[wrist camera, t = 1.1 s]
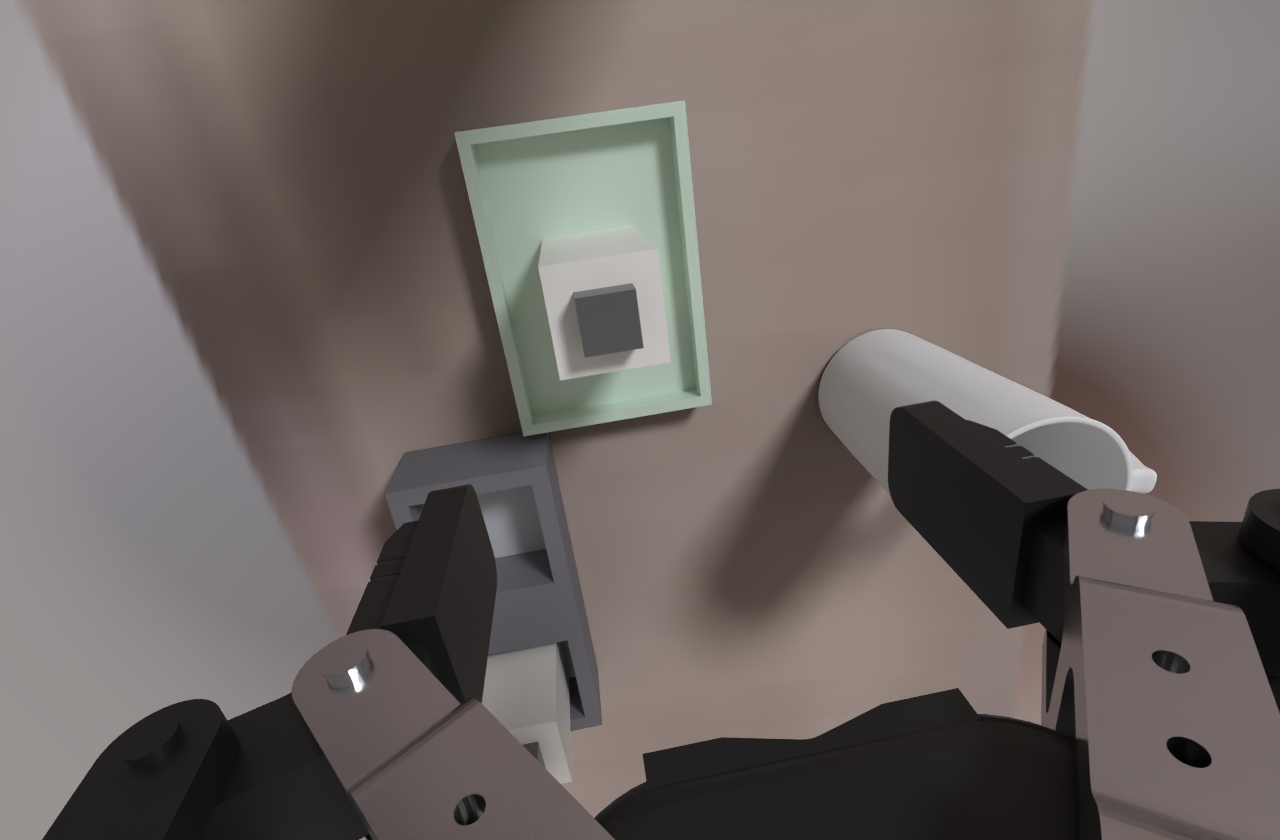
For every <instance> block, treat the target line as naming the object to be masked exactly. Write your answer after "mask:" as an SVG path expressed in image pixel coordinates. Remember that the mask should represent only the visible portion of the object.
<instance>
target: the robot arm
mask: <svg viewBox="0 0 1280 840" xmlns="http://www.w3.org/2000/svg"><path fill="white" fill-rule="evenodd" d="M888 487H889V491H890V495H891V498H892V500H893V503H894V505H895V506H896V508H897V509H898V511H899V512H900V513H901V514H902V515H903V516H904V517H905V518H906V519H907V520H908V522H909V523H910V524H911V525H912V526H913V527H914V528H915V529H916V530H917V531H918V532H919V533H920V535H921V536H922V537H923V538H924V539H925V540H926V541H927V542H928V543H929V544H930V545H931V546H932V547H933V549H934V550H935V551H936V552H937V553H938V554H939V555H940V556H941V557H942V558H943V559H944V560H945V561H946V563H947V564H948V565H949V566H950V567H951V568H952V569H953V570H954V571H955V572H956V573H957V574H958V576H959V577H960V578H961V579H962V580H963V581H964V582H965V583H966V584H967V585H968V586H969V587H970V588H971V590H972V591H973V592H974V593H975V594H976V595H977V596H978V597H979V598H980V599H981V600H982V601H983V603H984V604H985V605H986V606H987V607H988V608H989V609H990V610H991V611H992V612H993V613H994V614H995V615H996V617H997V618H998V619H999V620H1000V621H1001V622H1002V623H1003V624H1004V625H1005V626H1006V627H1007V628H1008V629H1009V628H1014V627H1018V626H1023V625H1028V624H1033V623H1037V622H1040V623H1041V624H1042V625H1043V626H1044V627H1045V628H1046V629H1045V635H1044V641H1043V646H1042V705H1041V706H1042V707H1041V725H1038V724H1034V723H1031V722H1027V721H1023V720H1019V719H1014V718H1010V717H1003V716H996V715H988V714H977V713H976V712H975V710H974V709H973V708H972V706H971V705H970V704H969V702H968V701H967V699H966V698H965V697H964V695H963V694H962V693H961V691H960V690H959V689H958V688H956V689H952V690H947V691H942V692H937V693H932V694H928V695H923V696H918V697H913V698H909V699H904V700H899V701H894V702H889V703H885V704H881V705H879V706H877V707H875V708H873V709H871V710H869V711H867V712H865V713H863V714H861V715H859V716H857V717H855V718H853V719H852V720H850V721H848V722H846V723H844V724H842V725H840V726H838V727H836V728H834V729H832V730H830V731H828V732H826V733H824V734H822V735H820V736H817V737H815V738H812V739H805V740H795V739H758V738H717V739H712V740H708V741H703V742H698V743H693V744H689V745H684V746H679V747H674V748H669V749H665V750H660V751H655V752H650V753H645V754H643V759H644V766H645V773H646V780H647V781H646V782H644V783H642V784H640V785H638V786H636V787H634V788H633V789H631V790H629V791H628V792H626V793H625V794H623V795H622V796H620V797H619V798H617V799H616V800H614V801H613V802H612V803H611V804H610V805H608V806H607V807H606V808H605V809H604V810H602V811H601V812H600V813H599V814H598V815H597V816H596V817H595V818H593V817H592V816H591V815H590V814H589V813H588V811H587V810H586V809H585V808H584V807H583V806H582V805H581V804H580V803H579V802H578V801H577V800H576V799H575V798H574V797H573V796H572V795H571V794H570V793H569V792H568V791H567V790H566V789H565V788H564V787H563V786H562V785H561V784H560V783H559V782H558V781H557V780H556V779H555V778H554V777H553V776H552V775H551V774H550V773H549V772H548V771H547V770H546V769H545V768H544V767H543V766H542V765H541V763H540V762H539V761H538V760H537V759H536V758H535V757H534V756H533V755H532V754H531V753H530V752H529V751H528V750H527V749H526V748H525V747H524V746H523V745H522V744H521V743H520V742H519V741H518V740H517V739H516V738H515V737H514V736H513V735H512V734H511V733H510V732H509V731H508V730H507V729H506V728H505V727H504V726H503V725H502V724H501V723H500V722H499V721H498V720H497V719H496V718H495V717H494V715H493V714H492V713H491V712H490V711H489V710H488V709H487V708H486V707H485V706H484V705H483V704H482V698H483V690H484V682H485V675H486V667H487V659H488V652H489V644H490V636H491V629H492V621H493V613H494V606H495V598H496V591H497V569H496V562H495V557H494V552H493V549H492V545H491V542H490V539H489V535H488V532H487V528H486V525H485V522H484V518H483V515H482V511H481V508H480V504H479V501H478V498H477V494H476V492H475V490H474V488H473V486H472V485H471V484H468V485H462V486H457V487H451V488H446V489H441V490H435V491H430V492H429V493H428V496H427V498H426V501H425V504H424V507H423V510H422V512H421V515H420V518H419V520H418V521H413V522H407V523H404V524H403V525H402V526H401V527H400V528H399V529H398V530H397V531H396V532H395V533H394V534H393V535H392V536H391V537H390V538H389V539H388V540H387V541H386V542H385V544H384V547H383V549H382V551H381V554H380V556H379V558H378V561H377V564H378V565H376V566H375V568H374V570H373V573H372V575H371V577H370V579H371V582H368V584H367V587H366V589H365V591H364V594H363V596H362V599H361V601H360V603H359V606H358V608H357V610H356V613H355V615H354V617H353V620H352V622H351V625H350V627H349V629H348V632H347V634H346V636H344V637H341V638H339V639H337V640H335V641H333V642H332V643H330V644H328V645H327V646H325V647H324V648H323V649H321V650H320V651H318V652H317V653H316V654H314V655H313V656H312V657H311V658H310V659H309V660H308V661H307V662H306V663H305V665H304V666H303V667H302V668H301V669H300V671H299V673H298V674H297V676H296V678H295V680H294V682H293V686H292V693H290V694H288V695H286V696H284V697H282V698H280V699H277V700H275V701H273V702H270V703H268V704H265V705H263V706H261V707H258V708H256V709H254V710H251V711H249V712H247V713H244V714H242V715H240V716H237V717H235V718H233V719H230V720H228V721H227V719H226V718H225V716H224V714H223V713H222V711H221V709H220V708H219V706H218V705H217V704H216V703H214V702H212V701H209V700H204V699H193V700H188V701H183V702H179V703H176V704H173V705H170V706H168V707H165V708H163V709H161V710H159V711H157V712H154V713H152V714H151V715H149V716H147V717H145V718H144V719H142V720H140V721H139V722H137V723H136V724H134V725H133V726H131V727H130V728H129V729H127V730H126V731H125V732H124V733H122V734H121V735H120V736H119V737H118V738H116V739H115V740H114V741H113V742H112V743H111V744H110V745H109V746H108V747H107V748H106V749H105V750H104V752H103V753H102V754H101V755H100V756H99V758H98V759H97V760H96V761H95V763H94V764H93V766H92V767H91V769H90V770H89V771H88V773H87V774H86V776H85V777H84V779H83V780H82V782H81V783H80V785H79V786H78V788H77V789H76V791H75V792H74V794H73V795H72V797H71V798H70V799H69V801H68V802H67V804H66V805H65V807H64V808H63V810H62V811H61V813H60V814H59V816H58V817H57V819H56V820H55V822H54V823H53V825H52V826H51V828H50V829H49V830H48V832H47V834H46V835H45V836H44V838H43V839H42V840H359V839H361V838H363V837H365V838H366V840H1280V489H1273V490H1266V491H1262V492H1259V493H1257V494H1255V495H1253V496H1252V497H1251V498H1250V500H1249V503H1248V506H1247V509H1246V512H1245V515H1244V518H1243V521H1242V522H1198V521H1188V519H1187V518H1186V517H1185V515H1184V514H1183V513H1181V512H1180V511H1179V510H1178V509H1176V508H1175V507H1173V506H1172V505H1170V504H1167V503H1165V502H1164V501H1162V500H1159V499H1156V498H1154V497H1151V496H1148V495H1144V494H1141V493H1137V492H1133V491H1127V490H1120V489H1092V490H1088V489H1086V488H1085V487H1083V486H1082V485H1080V484H1079V483H1077V482H1076V481H1074V480H1073V479H1071V478H1070V477H1068V476H1067V475H1065V474H1064V473H1062V472H1061V471H1059V470H1057V469H1056V468H1054V467H1053V466H1051V465H1050V464H1048V463H1047V462H1045V461H1044V460H1042V459H1041V458H1039V457H1034V454H1033V453H1032V452H1030V451H1028V450H1027V449H1025V448H1024V447H1022V446H1017V443H1016V442H1015V441H1013V440H1012V439H1010V438H1009V437H1007V436H1006V435H1004V434H1003V433H1001V432H1000V431H998V430H996V429H994V428H991V427H988V426H985V425H982V424H979V423H976V422H973V421H970V420H965V419H964V418H962V417H961V416H959V415H958V414H956V413H955V412H953V411H952V410H950V409H949V408H948V407H946V406H945V405H943V404H942V403H940V402H938V401H928V402H923V403H917V404H912V405H906V406H901V407H896V408H895V409H894V410H893V411H892V413H891V416H890V425H889V455H888Z"/></svg>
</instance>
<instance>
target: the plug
mask: <svg viewBox="0 0 1280 840" xmlns="http://www.w3.org/2000/svg"><path fill="white" fill-rule="evenodd" d="M538 269H539V274H540V279H541V284H542V289H543V294H544V300H545V305H546V310H547V315H548V320H549V325H550V331H551V336H552V341H553V346H554V351H555V356H556V362H557V367H558V372H559V377H560V380H566V379H572V378H578V377H584V376H590V375H596V374H602V373H608V372H614V371H620V370H626V369H633V368H639V367H645V366H651V365H657V364H663V363H669V362H671V357H670V348H669V340H668V331H667V322H666V313H665V305H664V296H663V287H662V279H661V270H660V261H659V252H658V248H657V247H656V246H655V245H654V244H653V243H652V242H651V241H650V240H649V239H648V238H646V237H645V236H644V235H643V234H642V233H641V232H640V231H639V230H638V229H637V228H636V227H635V226H628V227H621V228H614V229H608V230H601V231H594V232H588V233H581V234H574V235H568V236H561V237H554V238H548V239H542V244H541V251H540V258H539V264H538Z"/></svg>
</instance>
